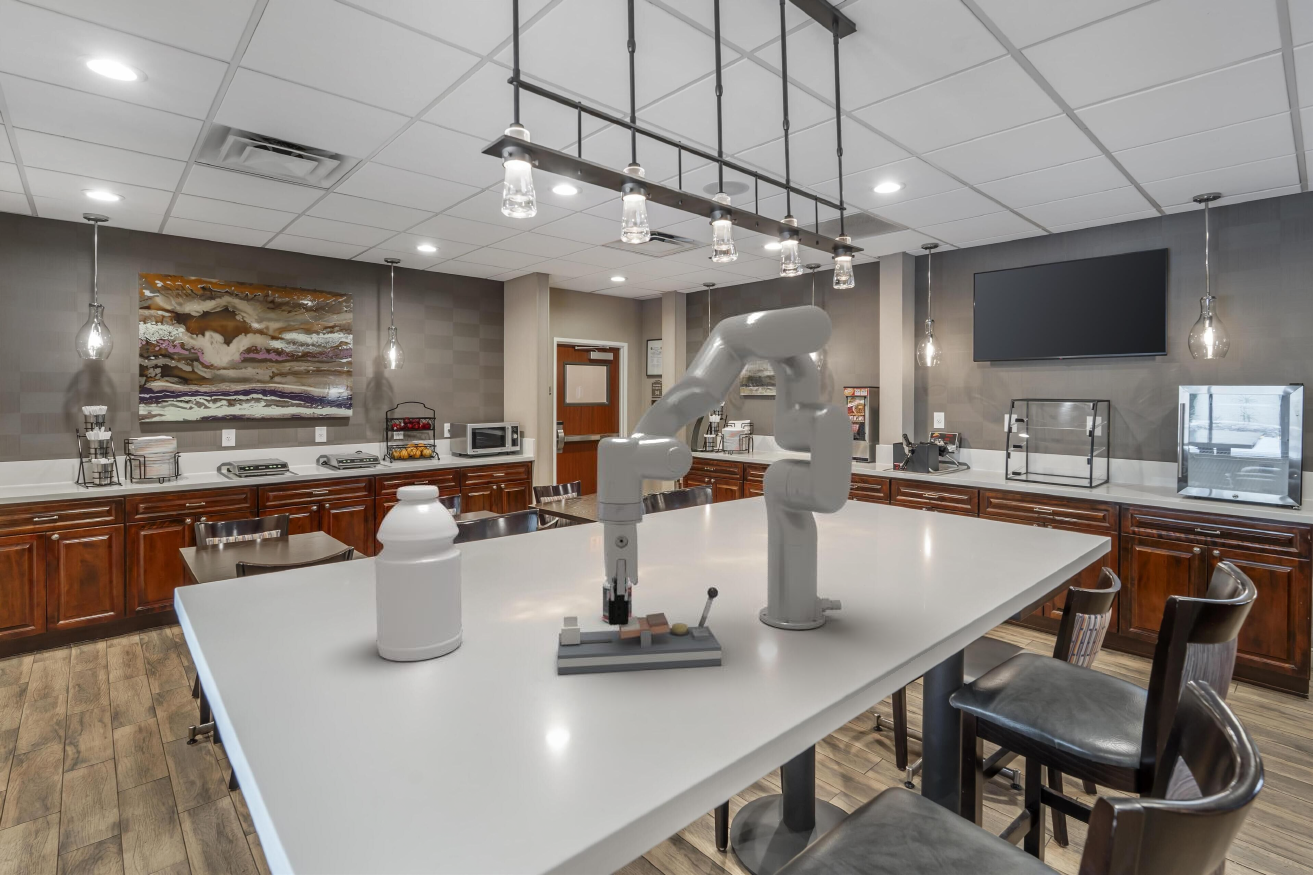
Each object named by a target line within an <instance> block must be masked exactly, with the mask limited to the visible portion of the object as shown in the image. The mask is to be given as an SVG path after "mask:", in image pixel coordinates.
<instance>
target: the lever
mask: <svg viewBox="0 0 1313 875" xmlns="http://www.w3.org/2000/svg"><path fill="white" fill-rule="evenodd" d="M706 593H707V596H708V597H707V599H706V602H705V605H704V608H703V611H702V614H701V616H700V619H699V622H698V626H697V627H698V628H699V629H703V627H704V626H705V625H706V621H707V618H708V616H709V613H710V610H711V607H712V604H713V601H714V599H716V598H717V597H718V595H719V591H718V589H717V588H716V587H715V586H714V587H713V586H711V587H709V588H708V589H707V591H706Z"/></svg>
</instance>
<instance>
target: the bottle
mask: <svg viewBox="0 0 1313 875" xmlns="http://www.w3.org/2000/svg"><path fill="white" fill-rule="evenodd" d="M439 496H440V491H439V488H438V486H436V485H431V484H430V485H423V484H422V485H421V484H420V485H418V484H417V485H406V486H402V487H401V486H400V487H399V488H397V490H396V499H398V500H399V502H397V503H396V504H395V505H394V506H393V507H392V508H391V509H390V510H389V511H388V512H387V513H386V515H385V517H384V518H383V520H382V522H381V524H380V525H379V528H378V530H377V531H378V532H377V534H376V539H377V540H378V541H379V542H380V543H381V544H382V545H383V548H382V549H381V550H380V552H379V553H378V554H377V555H375V558H374V565H375V592H376V593H375V598H376V600H375V601H376V604H375V605H376V606H375V608H376V634H377V635H376V638H377V639H376V640H375V641H376V648H377V651H378V654H379V656H380V657H382V658H384V659H385V660H390V661H397V662H415V661H416V662H417V661H423V660H425V661H426V660H430V659H434V658H437V657H440V656H443V655H446V654H449V653H451V652H453V651H455V650H456V649H457V648H458V647H460V645H461V644H462V643H461V642H462V640H463V639H462V638H463V629H462V626H463V625H462V551H461V550H460V549H459V548H458V546H456V544H454V540H455V538H456V537H457V536H458V534H459V533H460V530H459V527H458V525H457V522H456V520H455V518H454V516H453V515H452V514H451V512H450V511H449V510H448V509H447V507H446V506H445V505H443V503H441V502H440V501H439V500H437V499H436V498H438V497H439Z"/></svg>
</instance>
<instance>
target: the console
mask: <svg viewBox="0 0 1313 875" xmlns="http://www.w3.org/2000/svg"><path fill="white" fill-rule="evenodd" d="M642 618H646V616H641V617H640V616H637V619H642ZM557 645H558V646H557V675H559V676H560V675H575V674H591V673H607V672H608V673H612V672H626V671H629V672H631V671H644V670H645V671H646V670H648V671H649V670H661V669H662V670H663V669H680V668H682V669H683V668H697V667H698V668H699V667H700V668H701V667H715V666H722V645H721V644H720V643H719V641H718V640H717V638H716V637H715V635H714V633H713V632H712V630H711V628H710V627H709V625H704V627H703V629H699V628H698V626H688V624H686V623H682V622H676V623H673V624H672V625H671V627H670V632H663V633H656V634H651V630H647V631H641V636H635V637H628V638H621V635H620V631H619V629H618V630H603V631H602V630H600V631H583V632H582V631H580V644H564V645H561V632H560V633H558V644H557Z"/></svg>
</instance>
